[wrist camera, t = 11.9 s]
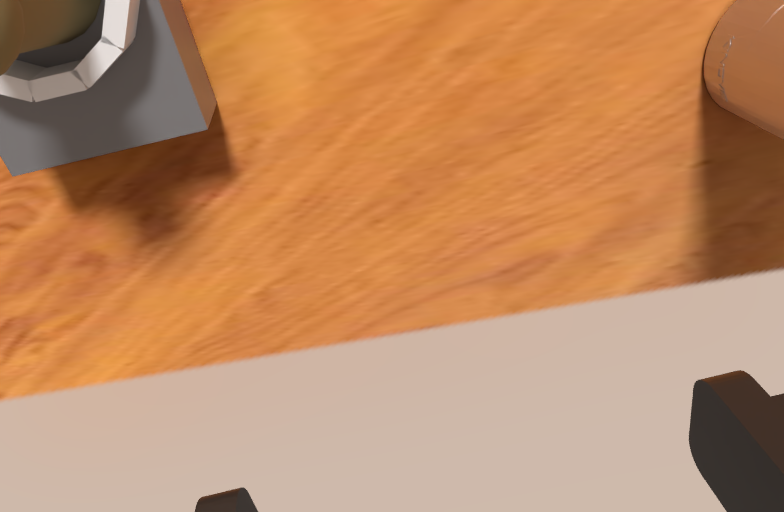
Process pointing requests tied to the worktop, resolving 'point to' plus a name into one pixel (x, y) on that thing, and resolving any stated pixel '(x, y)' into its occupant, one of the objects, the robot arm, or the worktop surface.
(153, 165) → the worktop surface
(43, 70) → the camera body
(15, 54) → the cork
